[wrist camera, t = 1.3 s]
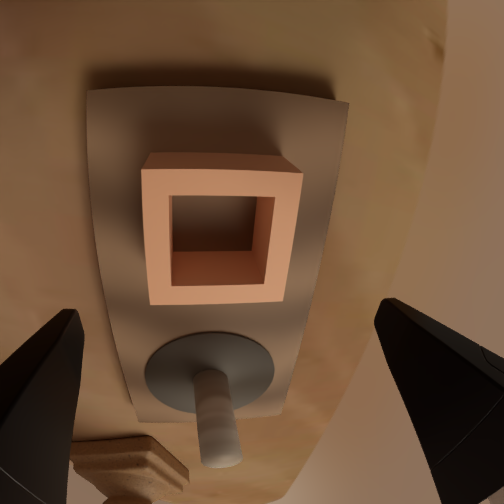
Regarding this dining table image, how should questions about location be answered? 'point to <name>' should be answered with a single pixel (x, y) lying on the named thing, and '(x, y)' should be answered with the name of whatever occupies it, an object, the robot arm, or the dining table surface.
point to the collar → (219, 262)
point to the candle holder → (129, 469)
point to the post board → (207, 239)
